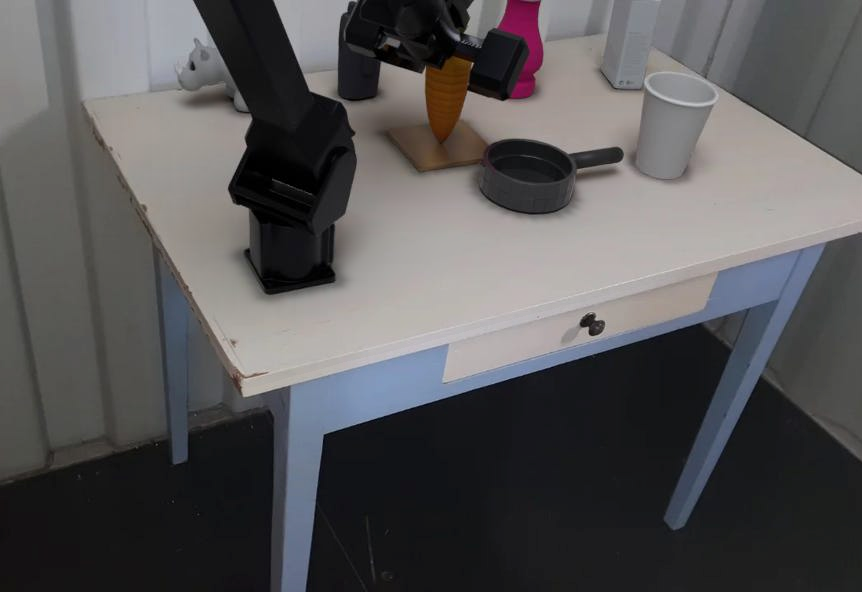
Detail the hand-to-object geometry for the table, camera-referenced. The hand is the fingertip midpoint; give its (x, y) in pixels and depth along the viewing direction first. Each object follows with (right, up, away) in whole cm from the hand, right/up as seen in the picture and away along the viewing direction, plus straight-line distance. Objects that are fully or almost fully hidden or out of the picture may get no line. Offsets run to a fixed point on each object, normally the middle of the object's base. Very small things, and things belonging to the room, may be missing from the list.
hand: (454, 80), depth 101 cm
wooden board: (-2, -7, +4) cm, 8 cm away
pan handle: (+15, -9, +1) cm, 18 cm away
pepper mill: (+7, +4, +19) cm, 20 cm away
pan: (+8, -12, -1) cm, 14 cm away
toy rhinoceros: (-26, -1, +5) cm, 26 cm away
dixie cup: (+24, -8, +7) cm, 26 cm away
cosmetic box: (+22, +7, +26) cm, 34 cm away
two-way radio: (-12, +1, +11) cm, 16 cm away
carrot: (-2, -6, +3) cm, 7 cm away
